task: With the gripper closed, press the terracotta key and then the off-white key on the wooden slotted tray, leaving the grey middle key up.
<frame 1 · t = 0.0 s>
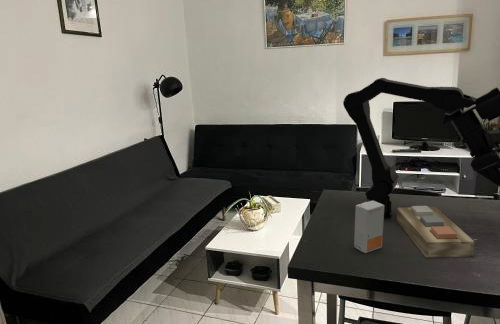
grey key: (431, 222, 101), point 4 cm above the table, slide at 0.0 cm
skincare box: (368, 248, 98), on the table
wooden slotted tray: (430, 236, 103), on the table
terracotta key: (443, 234, 95), point 4 cm above the table, slide at 0.0 cm
offwhite key: (421, 212, 108), point 4 cm above the table, slide at 0.0 cm
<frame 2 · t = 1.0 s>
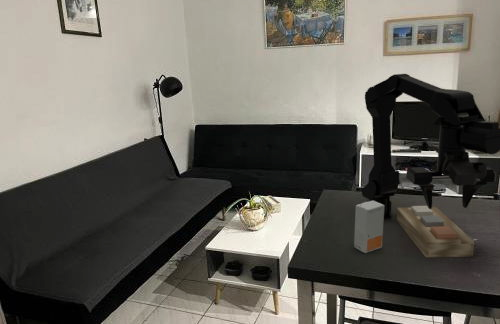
hand: (447, 207, 93), 11 cm above the table, tool pointing down, fingers open, 8 cm apart
nothing on the table moved.
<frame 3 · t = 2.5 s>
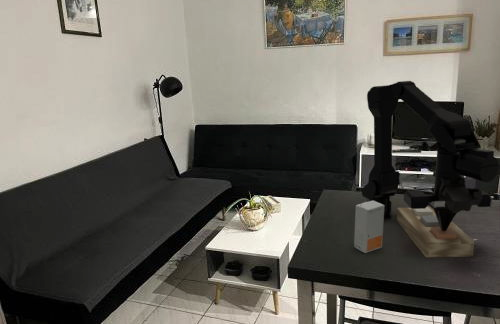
hand: (443, 230, 95), 5 cm above the table, tool pointing down, fingers closed, pressing on terracotta key
terracotta key: (443, 234, 95), point 4 cm above the table, slide at 0.1 cm, touching gripper
everything else where it was.
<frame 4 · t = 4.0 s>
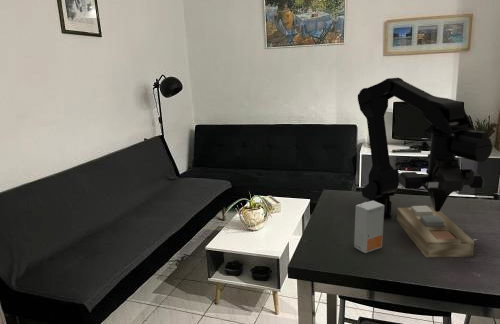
hand: (436, 211, 98), 9 cm above the table, tool pointing down, fingers closed
terracotta key: (442, 239, 95), point 3 cm above the table, slide at 1.4 cm
everything else where it was.
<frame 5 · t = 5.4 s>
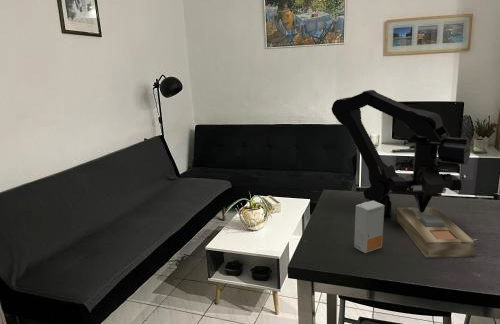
hand: (421, 211, 108), 4 cm above the table, tool pointing down, fingers closed, pressing on offwhite key
offwhite key: (421, 215, 108), point 3 cm above the table, slide at 0.9 cm, touching gripper
everything else where it was.
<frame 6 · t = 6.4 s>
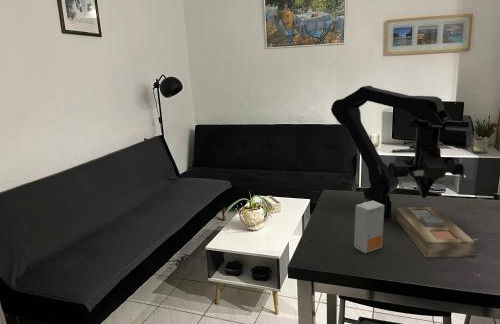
hand: (423, 197, 107), 9 cm above the table, tool pointing down, fingers closed
offwhite key: (421, 216, 109), point 3 cm above the table, slide at 1.4 cm
everything else where it was.
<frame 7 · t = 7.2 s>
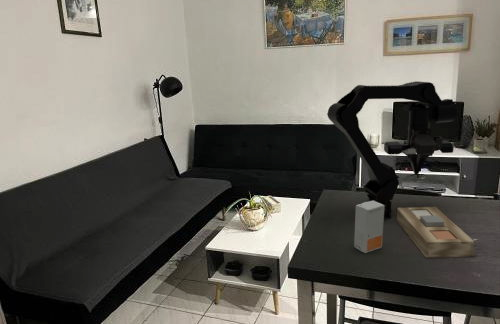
hand: (416, 174, 117), 12 cm above the table, tool pointing down, fingers closed
nothing on the table moved.
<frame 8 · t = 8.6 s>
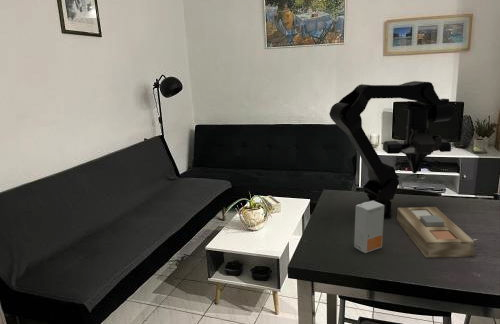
hand: (414, 173, 118), 12 cm above the table, tool pointing down, fingers closed
nothing on the table moved.
at the end: terracotta key slide at 1.4 cm; offwhite key slide at 1.4 cm; grey key slide at 0.0 cm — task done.
